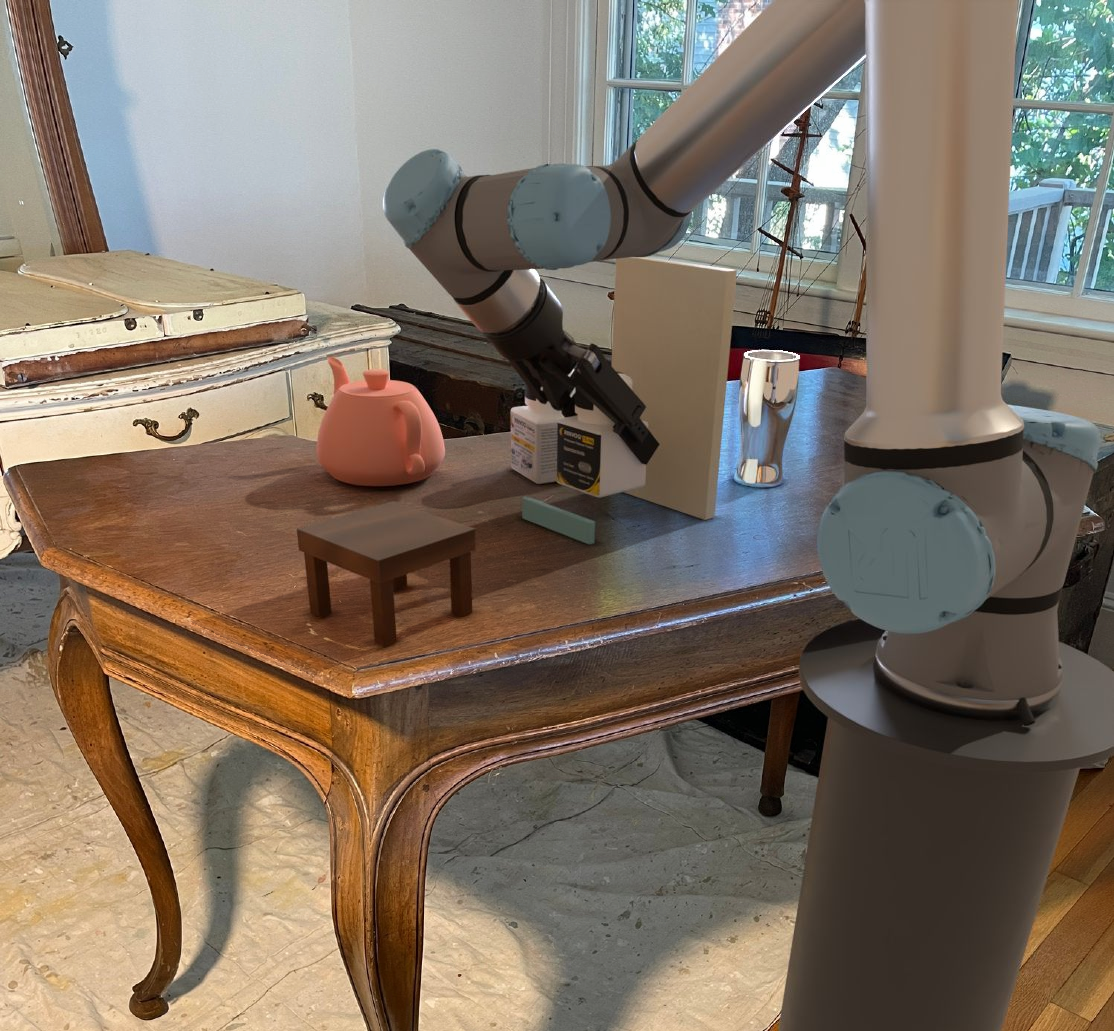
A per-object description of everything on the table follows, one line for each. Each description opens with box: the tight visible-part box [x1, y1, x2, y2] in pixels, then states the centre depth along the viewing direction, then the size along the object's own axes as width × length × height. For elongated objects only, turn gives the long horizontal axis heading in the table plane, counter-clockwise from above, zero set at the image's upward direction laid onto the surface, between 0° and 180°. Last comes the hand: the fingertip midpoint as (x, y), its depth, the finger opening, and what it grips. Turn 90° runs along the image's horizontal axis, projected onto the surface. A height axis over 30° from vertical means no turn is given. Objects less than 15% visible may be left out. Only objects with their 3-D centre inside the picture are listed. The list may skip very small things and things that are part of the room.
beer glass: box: [733, 349, 801, 489], centre depth 134 cm, size 7×7×15 cm
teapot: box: [316, 356, 446, 487], centre depth 135 cm, size 22×16×12 cm
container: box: [510, 368, 575, 485], centre depth 135 cm, size 8×8×13 cm
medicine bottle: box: [556, 371, 648, 499], centre depth 119 cm, size 7×7×12 cm
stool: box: [296, 500, 477, 648], centre depth 98 cm, size 11×11×8 cm
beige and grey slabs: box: [521, 256, 738, 545], centre depth 118 cm, size 16×17×26 cm
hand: (624, 446), depth 122 cm, fingers closed on medicine bottle, 7 cm apart
